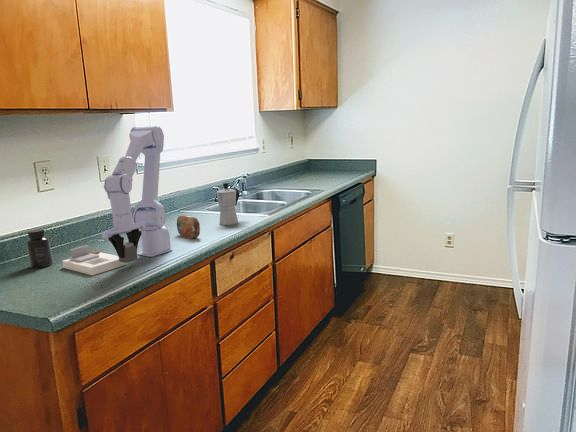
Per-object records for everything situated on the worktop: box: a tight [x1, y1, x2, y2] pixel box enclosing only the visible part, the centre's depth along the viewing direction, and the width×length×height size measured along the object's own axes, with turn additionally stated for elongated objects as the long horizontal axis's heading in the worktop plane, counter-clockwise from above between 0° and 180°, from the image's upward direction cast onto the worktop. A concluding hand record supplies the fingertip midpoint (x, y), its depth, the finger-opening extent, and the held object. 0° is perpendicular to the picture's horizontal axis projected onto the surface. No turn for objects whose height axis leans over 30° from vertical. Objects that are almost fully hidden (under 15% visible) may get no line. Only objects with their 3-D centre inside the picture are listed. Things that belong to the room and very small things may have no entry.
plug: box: [119, 241, 139, 264], centre depth 146 cm, size 4×4×6 cm
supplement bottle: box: [25, 228, 54, 269], centre depth 154 cm, size 7×7×12 cm
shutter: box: [68, 244, 99, 262], centre depth 151 cm, size 7×7×3 cm
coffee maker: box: [215, 182, 240, 227], centre depth 204 cm, size 15×9×18 cm, turn 148°
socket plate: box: [62, 250, 127, 276], centre depth 150 cm, size 12×17×3 cm
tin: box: [176, 215, 201, 240], centre depth 184 cm, size 15×3×8 cm, turn 40°
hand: (127, 255), depth 146 cm, fingers closed on plug, 4 cm apart
